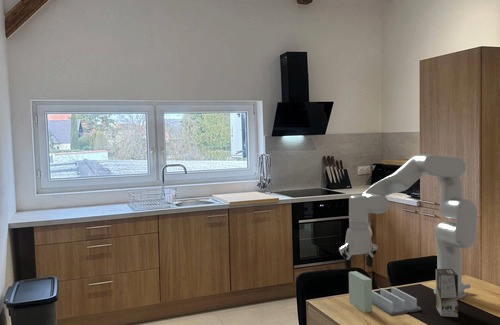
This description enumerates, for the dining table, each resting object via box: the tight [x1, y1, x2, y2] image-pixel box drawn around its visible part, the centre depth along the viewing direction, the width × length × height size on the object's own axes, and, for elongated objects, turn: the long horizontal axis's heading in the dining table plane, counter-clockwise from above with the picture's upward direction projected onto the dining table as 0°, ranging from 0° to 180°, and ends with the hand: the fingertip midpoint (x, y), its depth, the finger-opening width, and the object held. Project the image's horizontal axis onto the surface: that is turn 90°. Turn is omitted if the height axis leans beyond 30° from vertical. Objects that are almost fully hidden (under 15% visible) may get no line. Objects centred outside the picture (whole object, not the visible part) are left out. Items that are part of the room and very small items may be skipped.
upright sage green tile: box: [348, 270, 373, 313], centre depth 181 cm, size 4×12×13 cm, turn 17°
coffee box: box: [435, 268, 459, 318], centre depth 172 cm, size 9×6×16 cm
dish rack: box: [372, 286, 422, 316], centre depth 182 cm, size 14×18×4 cm
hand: (358, 267), depth 180 cm, fingers open, 9 cm apart
